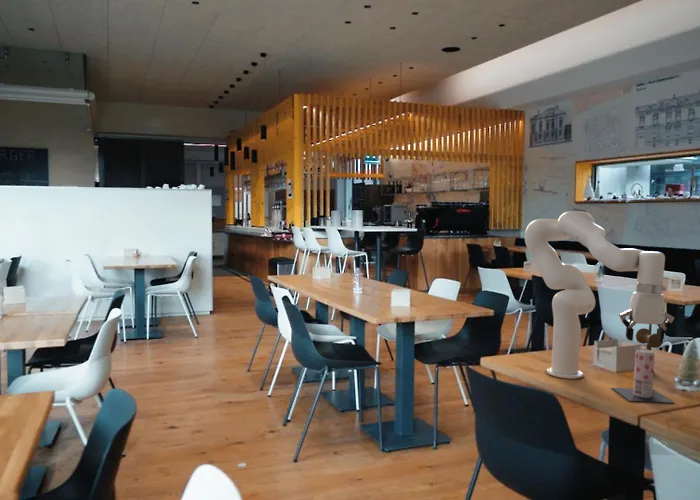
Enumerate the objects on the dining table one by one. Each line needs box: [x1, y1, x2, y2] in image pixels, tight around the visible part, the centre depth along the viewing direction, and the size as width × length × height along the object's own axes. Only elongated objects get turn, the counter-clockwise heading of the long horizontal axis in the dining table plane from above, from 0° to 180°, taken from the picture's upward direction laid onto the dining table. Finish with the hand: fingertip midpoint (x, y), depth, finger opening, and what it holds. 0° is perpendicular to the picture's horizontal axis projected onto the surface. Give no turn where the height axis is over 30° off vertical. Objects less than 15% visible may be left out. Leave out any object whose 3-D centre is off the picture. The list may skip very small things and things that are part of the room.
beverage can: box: [632, 348, 655, 398], centre depth 196 cm, size 6×6×15 cm
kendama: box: [635, 324, 664, 375], centre depth 224 cm, size 6×10×20 cm, turn 2°
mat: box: [611, 387, 675, 404], centre depth 197 cm, size 14×14×1 cm
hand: (644, 340), depth 195 cm, fingers open, 9 cm apart
